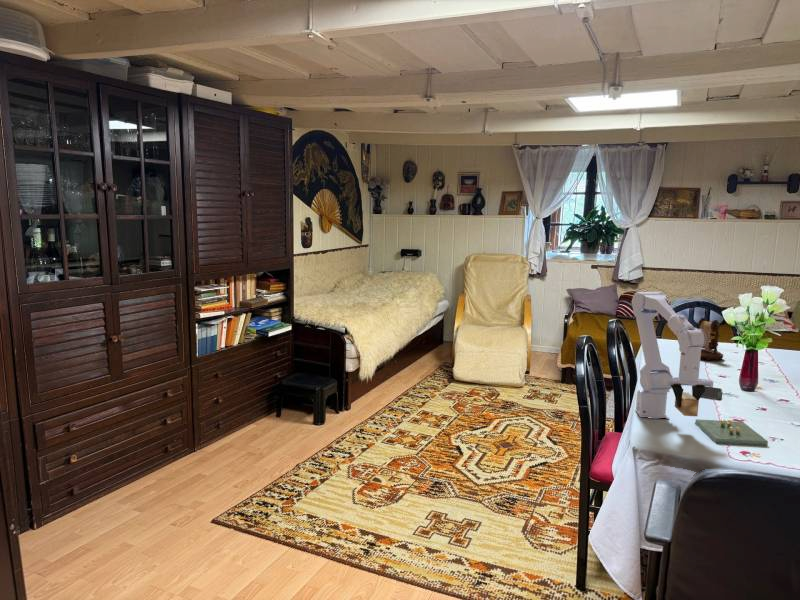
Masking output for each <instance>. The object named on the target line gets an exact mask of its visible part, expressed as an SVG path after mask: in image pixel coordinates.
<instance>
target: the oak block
mask: <svg viewBox="0 0 800 600" xmlns="http://www.w3.org/2000/svg"><path fill="white" fill-rule="evenodd" d="M674 398H675V397H674ZM699 401H700V400H699ZM699 401H698V400H697V399H696V398H694V397H693V396H692V393H689V392H684V391H683V394H682V401H681V408H679V407H677V405H676V398H675V400H674V407H675V408H676V409H677V411H679V413H681V414H682V415H683V416H684V417H698V415H699V414H698V413H699Z"/></svg>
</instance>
